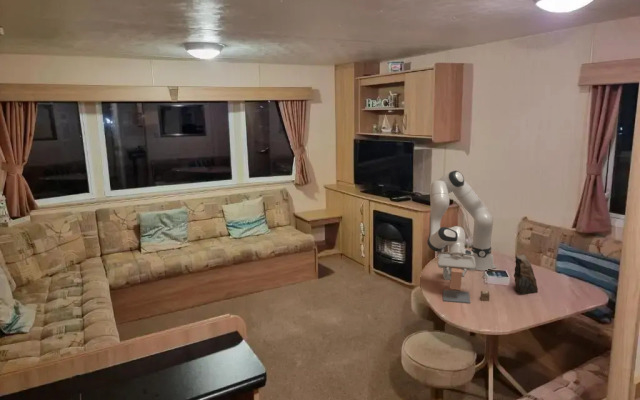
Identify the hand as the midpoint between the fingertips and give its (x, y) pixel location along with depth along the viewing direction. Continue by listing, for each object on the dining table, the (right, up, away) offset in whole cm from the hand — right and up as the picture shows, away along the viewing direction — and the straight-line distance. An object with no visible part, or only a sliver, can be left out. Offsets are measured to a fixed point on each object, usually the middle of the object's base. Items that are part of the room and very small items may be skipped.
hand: (456, 275), depth 239 cm
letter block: (+15, -13, -2) cm, 20 cm away
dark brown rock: (+41, -10, +7) cm, 43 cm away
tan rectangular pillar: (0, -6, +1) cm, 6 cm away
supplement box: (+5, -6, +29) cm, 30 cm away
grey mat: (+1, -12, +2) cm, 12 cm away
